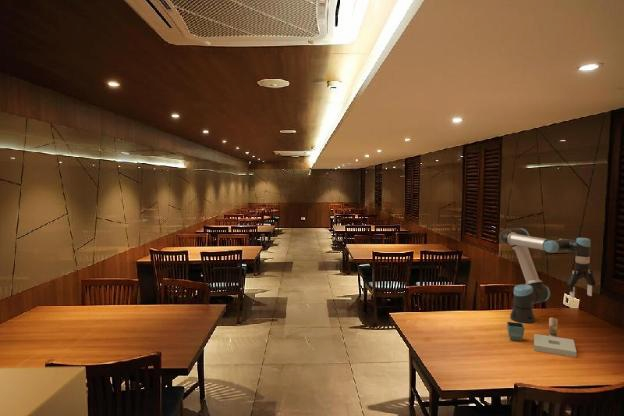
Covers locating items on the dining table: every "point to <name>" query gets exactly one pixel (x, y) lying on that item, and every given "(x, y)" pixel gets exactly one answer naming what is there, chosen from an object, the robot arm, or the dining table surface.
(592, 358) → the dining table surface
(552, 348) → the board
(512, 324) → the flower pot
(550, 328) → the peg
